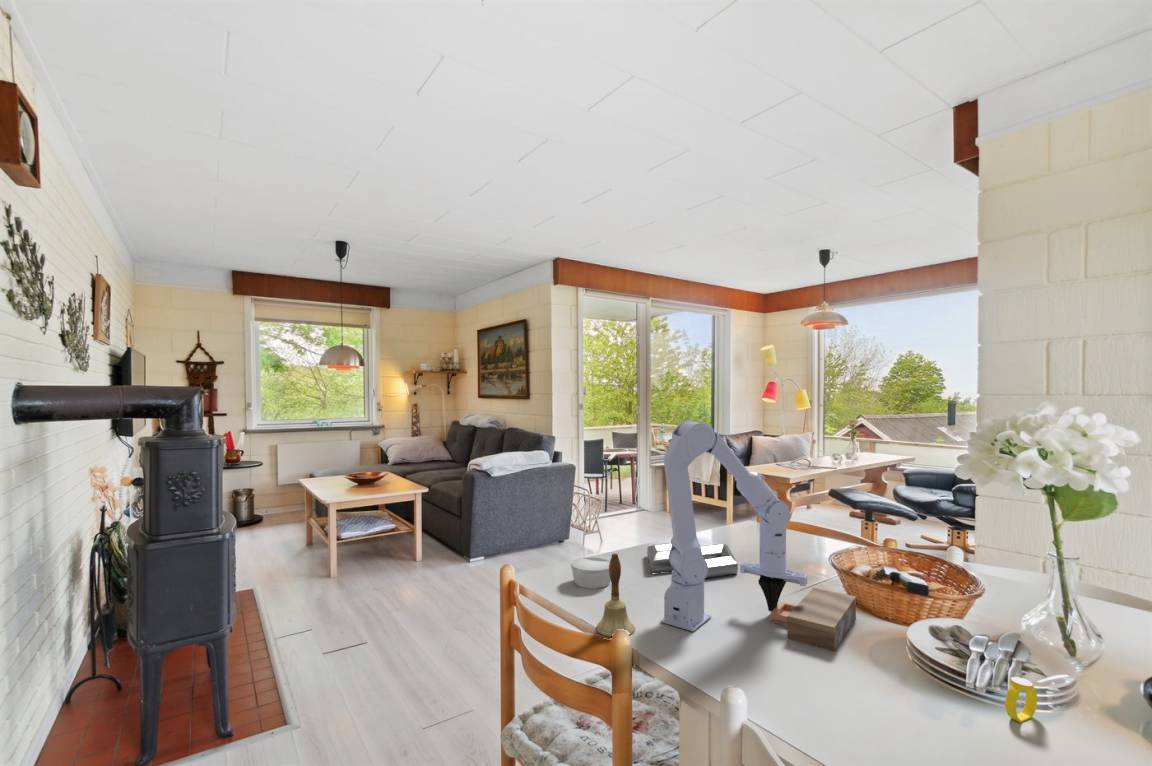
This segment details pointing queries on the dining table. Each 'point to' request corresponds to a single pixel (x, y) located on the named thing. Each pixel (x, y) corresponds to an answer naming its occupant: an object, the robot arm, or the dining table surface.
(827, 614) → the wooden block
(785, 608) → the shallow pink tray
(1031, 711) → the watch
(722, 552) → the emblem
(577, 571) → the ramekin
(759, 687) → the dining table surface
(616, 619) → the hand bell
